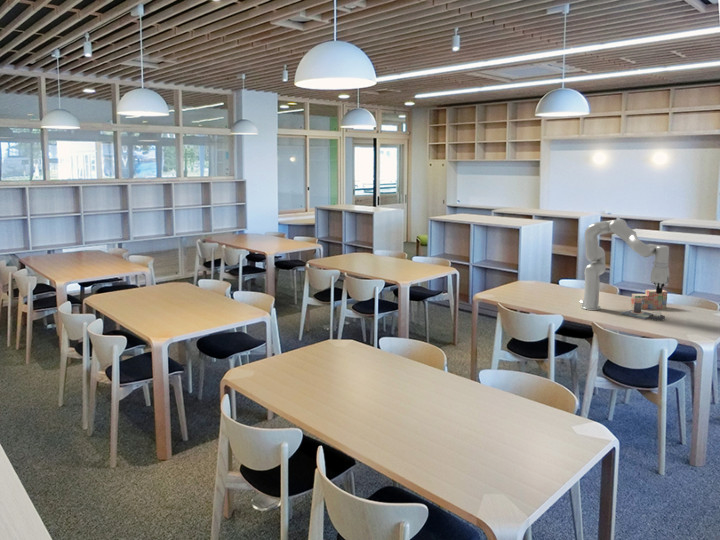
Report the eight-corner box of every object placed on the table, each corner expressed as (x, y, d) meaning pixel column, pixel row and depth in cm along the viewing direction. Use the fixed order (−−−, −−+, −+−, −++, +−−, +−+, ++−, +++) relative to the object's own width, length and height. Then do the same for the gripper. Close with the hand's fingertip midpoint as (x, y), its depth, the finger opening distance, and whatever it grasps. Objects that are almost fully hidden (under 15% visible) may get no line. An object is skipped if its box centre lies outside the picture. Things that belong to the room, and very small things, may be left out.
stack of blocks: (634, 308, 407) (635, 291, 405) (630, 306, 413) (631, 289, 411) (666, 309, 405) (667, 291, 403) (662, 306, 411) (663, 289, 409)
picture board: (620, 313, 395) (620, 312, 394) (633, 310, 402) (633, 309, 401) (644, 319, 380) (644, 317, 380) (657, 316, 387) (657, 314, 387)
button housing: (648, 318, 382) (649, 315, 381) (655, 317, 385) (655, 313, 384) (658, 320, 376) (658, 317, 376) (664, 319, 379) (665, 315, 379)
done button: (651, 316, 381) (651, 312, 380) (655, 315, 383) (656, 311, 383) (658, 317, 377) (658, 314, 377) (662, 316, 379) (662, 312, 379)
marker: (632, 311, 395) (633, 298, 393) (636, 310, 397) (637, 297, 395) (638, 313, 391) (639, 299, 389) (642, 312, 393) (643, 298, 392)
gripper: (646, 264, 378) (644, 292, 382) (669, 267, 366) (666, 296, 369) (653, 262, 382) (651, 290, 385) (676, 266, 370) (673, 294, 373)
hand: (658, 293), depth 377 cm, fingers closed
